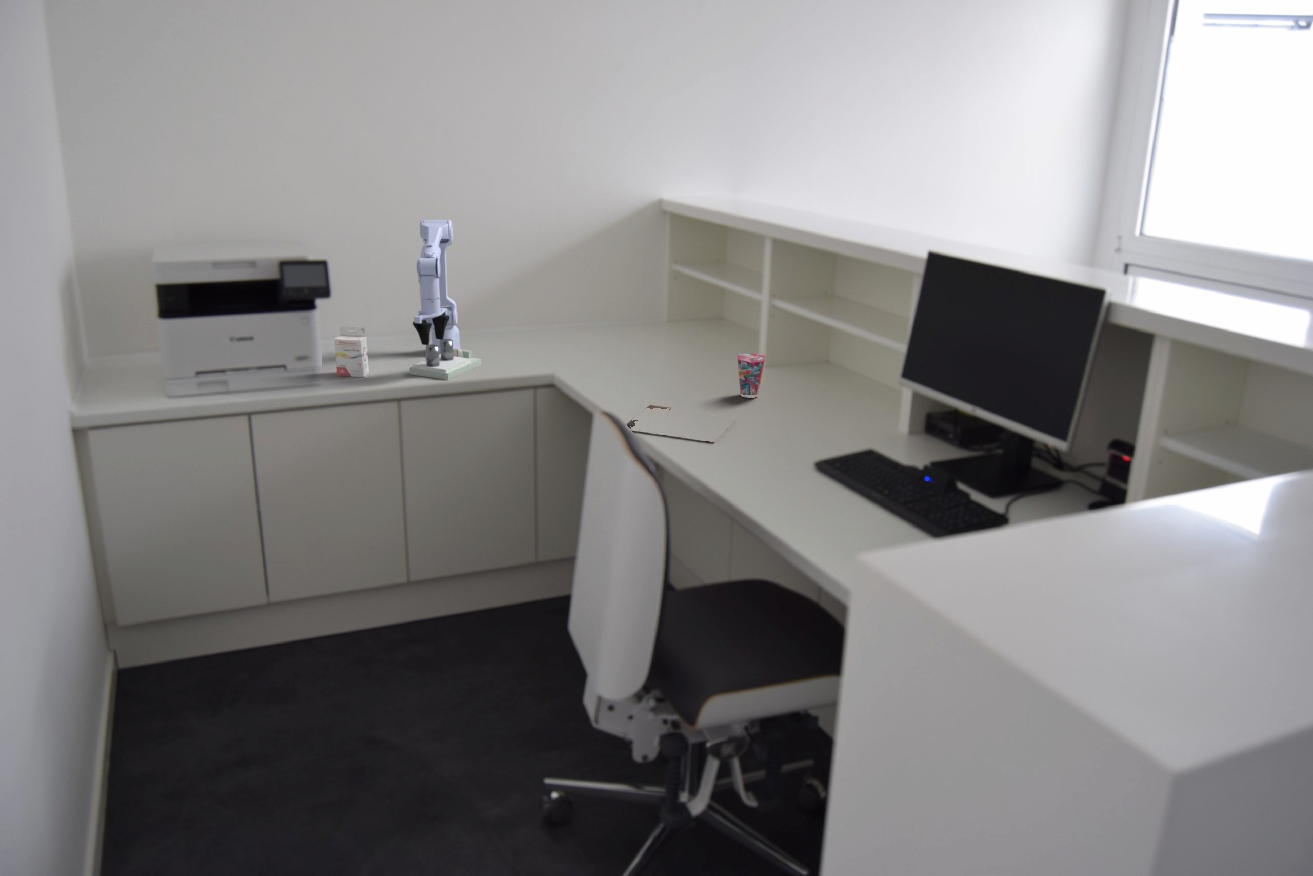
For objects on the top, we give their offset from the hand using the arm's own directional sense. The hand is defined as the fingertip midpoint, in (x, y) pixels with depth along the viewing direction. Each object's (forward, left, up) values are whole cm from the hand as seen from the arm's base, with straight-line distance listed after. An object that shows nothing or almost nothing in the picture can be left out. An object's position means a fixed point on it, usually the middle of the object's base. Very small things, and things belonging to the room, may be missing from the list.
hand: (432, 341), depth 304 cm
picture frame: (+11, +86, -11) cm, 87 cm away
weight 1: (0, 0, -7) cm, 7 cm away
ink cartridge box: (+11, -22, -11) cm, 27 cm away
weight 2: (-8, 0, -7) cm, 11 cm away
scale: (-7, 0, -10) cm, 13 cm away
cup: (-22, +95, -11) cm, 98 cm away
